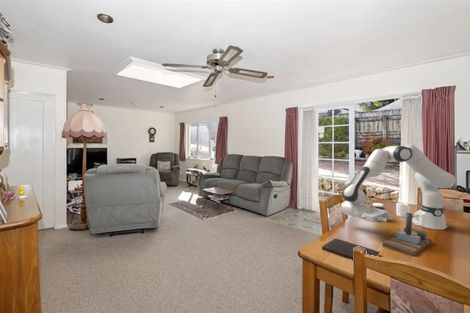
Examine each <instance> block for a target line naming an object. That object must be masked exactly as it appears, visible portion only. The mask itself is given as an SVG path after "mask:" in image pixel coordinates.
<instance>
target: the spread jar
mask: <svg viewBox="0 0 470 313" xmlns="http://www.w3.org/2000/svg"><path fill="white" fill-rule="evenodd" d="M371 207H375V208H378V209H382V210H385V211H387V209H386V208H385V206H384V204H383V203H379V202H374V203H373V202H372V205H371Z"/></svg>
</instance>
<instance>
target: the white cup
mask: <svg viewBox="0 0 470 313" xmlns="http://www.w3.org/2000/svg"><path fill="white" fill-rule="evenodd" d="M395 204H396V205H395V207H396V208H395V210H396V216H397V217H400V218H406V213H409V203H406V202H399V201H398V202H396V203H395Z"/></svg>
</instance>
